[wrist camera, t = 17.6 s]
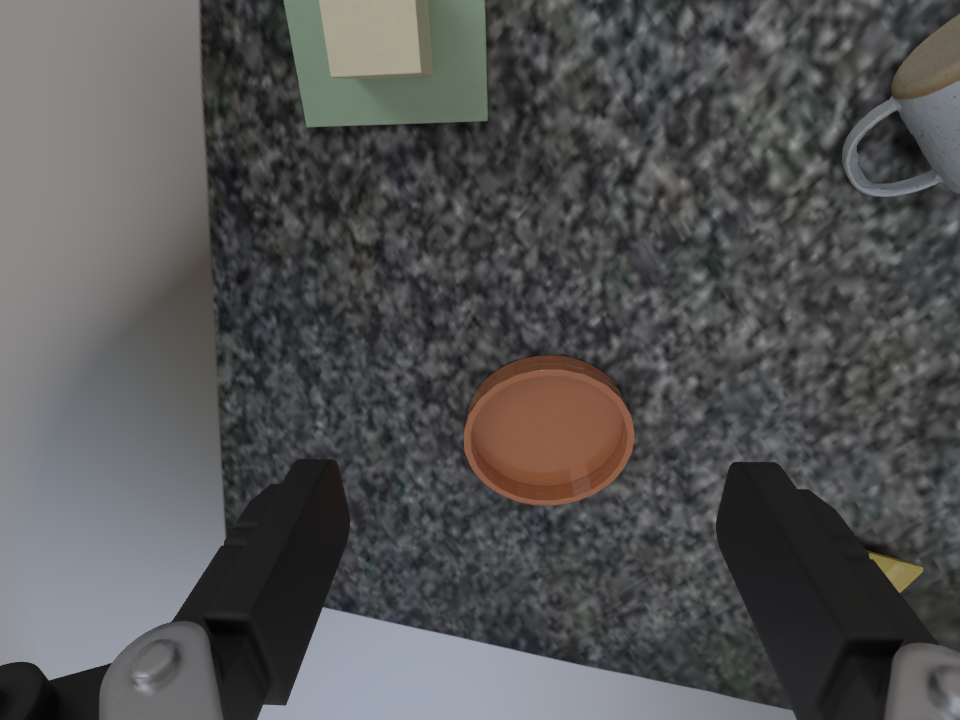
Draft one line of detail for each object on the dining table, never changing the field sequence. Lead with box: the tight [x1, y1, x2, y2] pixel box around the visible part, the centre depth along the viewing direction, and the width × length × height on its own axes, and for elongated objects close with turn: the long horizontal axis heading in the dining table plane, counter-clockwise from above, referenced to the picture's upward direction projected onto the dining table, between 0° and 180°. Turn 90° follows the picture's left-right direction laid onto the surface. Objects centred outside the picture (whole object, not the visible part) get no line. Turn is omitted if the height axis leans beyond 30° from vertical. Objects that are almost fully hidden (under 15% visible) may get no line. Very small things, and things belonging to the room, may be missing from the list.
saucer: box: [867, 550, 923, 593], centre depth 50 cm, size 9×9×2 cm
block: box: [319, 0, 433, 79], centre depth 28 cm, size 5×5×5 cm
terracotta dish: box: [464, 355, 635, 505], centre depth 43 cm, size 14×14×2 cm
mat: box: [284, 0, 488, 127], centre depth 30 cm, size 12×10×1 cm
